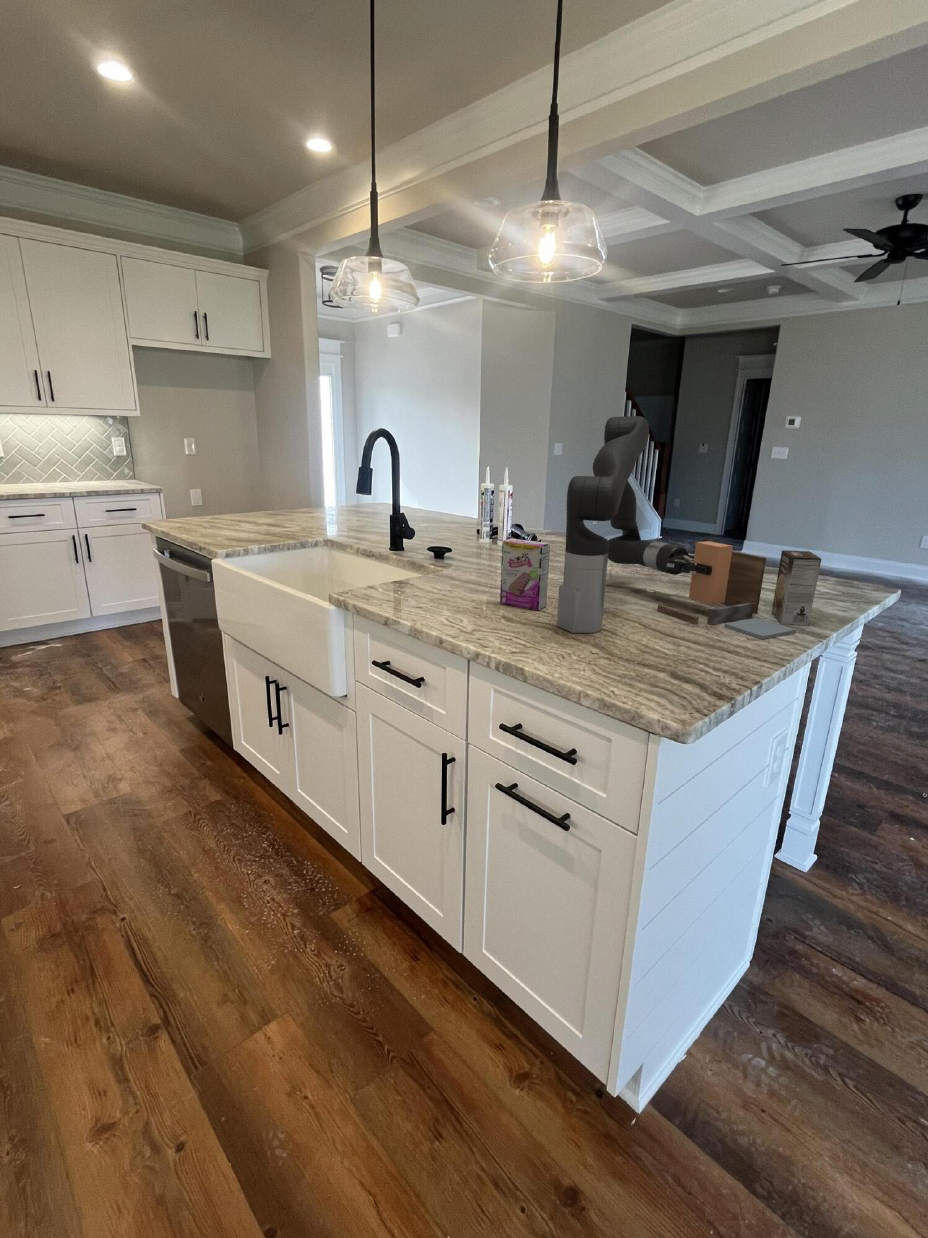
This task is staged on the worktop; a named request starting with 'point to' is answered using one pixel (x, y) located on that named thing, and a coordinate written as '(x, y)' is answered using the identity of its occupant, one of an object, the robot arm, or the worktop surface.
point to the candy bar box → (524, 573)
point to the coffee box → (795, 587)
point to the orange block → (715, 584)
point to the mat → (759, 628)
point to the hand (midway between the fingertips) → (718, 570)
